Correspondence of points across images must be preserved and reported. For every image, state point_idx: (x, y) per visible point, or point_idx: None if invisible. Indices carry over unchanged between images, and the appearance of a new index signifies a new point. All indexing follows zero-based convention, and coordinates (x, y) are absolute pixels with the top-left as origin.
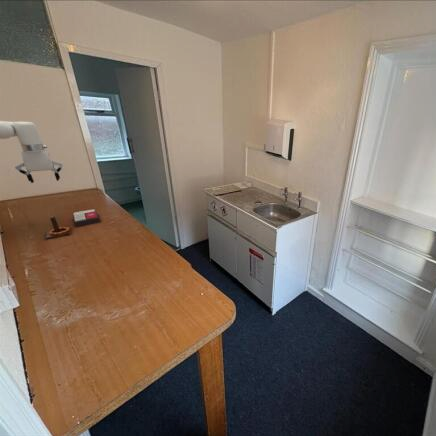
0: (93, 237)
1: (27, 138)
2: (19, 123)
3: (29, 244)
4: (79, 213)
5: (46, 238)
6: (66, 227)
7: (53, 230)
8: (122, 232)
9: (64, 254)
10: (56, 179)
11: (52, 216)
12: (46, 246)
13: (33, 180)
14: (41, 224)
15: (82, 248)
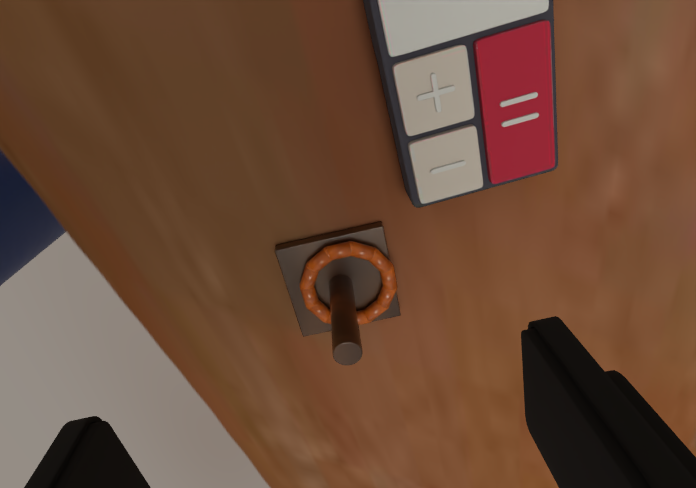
0: (507, 370)
1: None
2: None
3: (249, 360)
4: (429, 35)
5: (305, 333)
6: (379, 264)
7: (316, 277)
8: (631, 355)
9: (419, 474)
10: (539, 446)
11: (346, 345)
12: (332, 399)
13: (93, 440)
14: (153, 49)
15: (472, 450)
